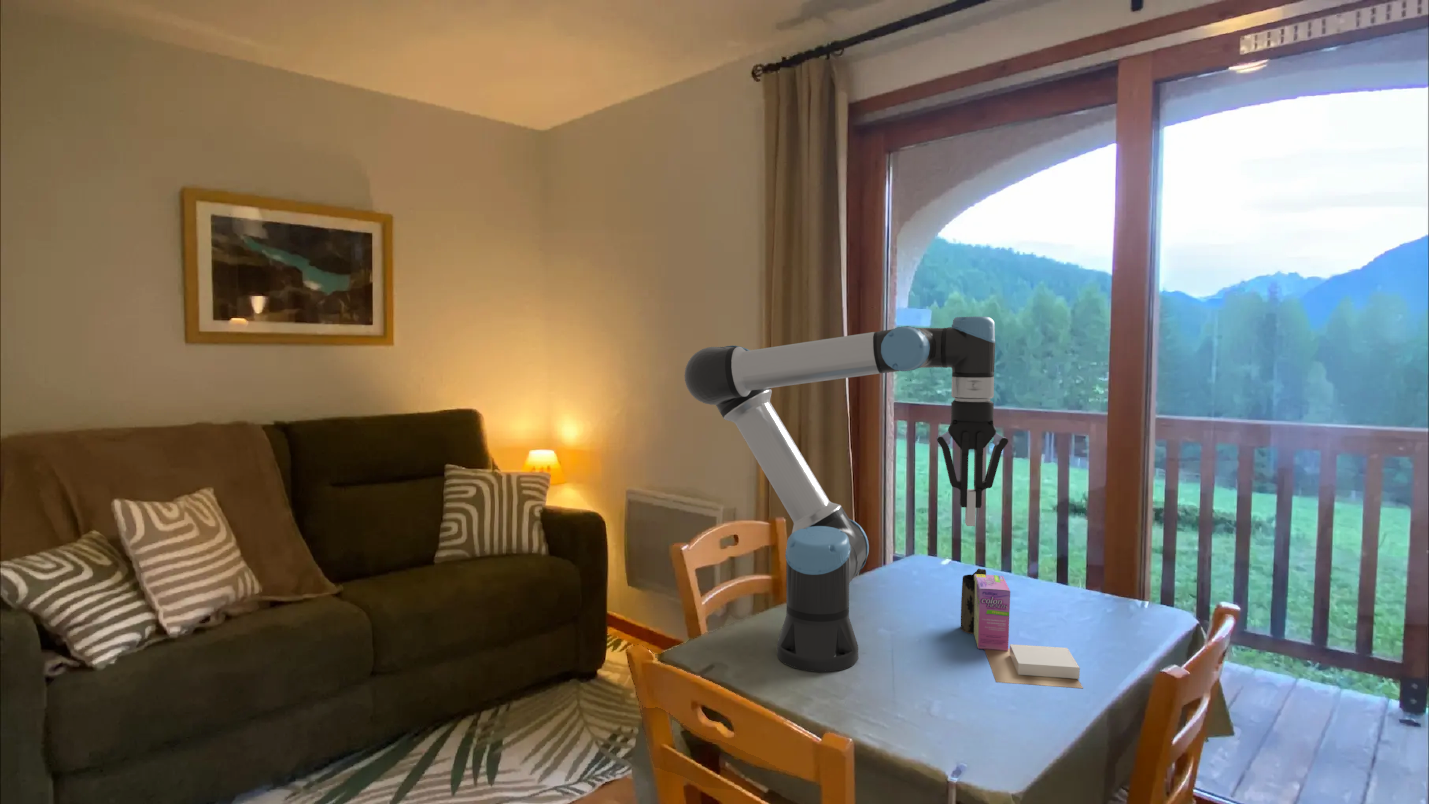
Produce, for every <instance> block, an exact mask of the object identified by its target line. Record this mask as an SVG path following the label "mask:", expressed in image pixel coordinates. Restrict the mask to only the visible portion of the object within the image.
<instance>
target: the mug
mask: <svg viewBox="0 0 1429 804" xmlns="http://www.w3.org/2000/svg"><path fill="white" fill-rule="evenodd" d="M975 574H983V575H987V571H986V569H985V568H984V569H983V568H978V569H976V571H975V572H973V573H972V574H965V575H963V576H962V583H961V584H962V585H961V598H960V599H961V601H960V630H961V631H962V632H964V633H967V634H970V635H974V605H975V581H974V575H975Z"/></svg>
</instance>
